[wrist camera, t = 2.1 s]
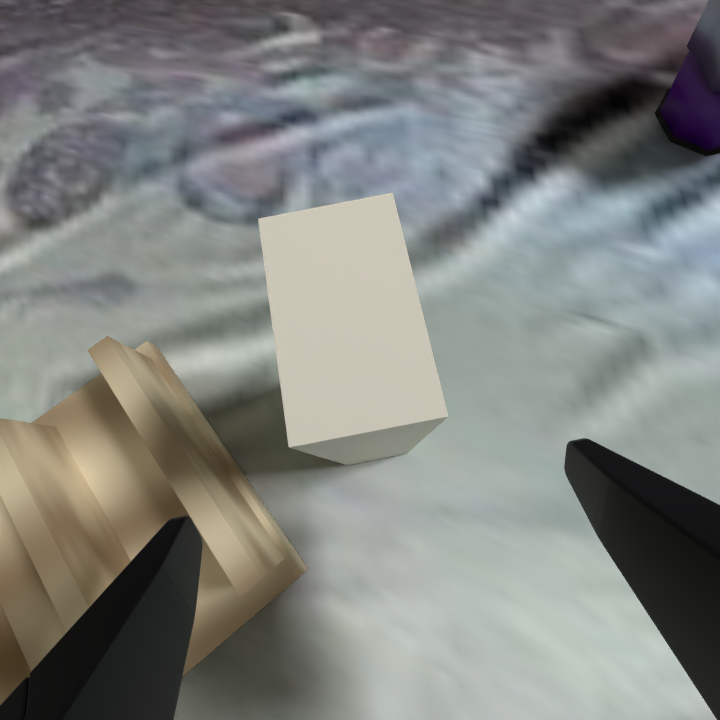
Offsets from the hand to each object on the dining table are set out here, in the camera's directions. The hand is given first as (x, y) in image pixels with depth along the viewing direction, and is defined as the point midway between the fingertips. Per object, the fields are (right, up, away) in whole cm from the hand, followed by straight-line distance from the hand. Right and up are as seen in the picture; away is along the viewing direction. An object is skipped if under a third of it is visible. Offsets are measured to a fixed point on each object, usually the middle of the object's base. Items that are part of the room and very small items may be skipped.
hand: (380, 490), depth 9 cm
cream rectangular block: (0, +1, +11) cm, 11 cm away
